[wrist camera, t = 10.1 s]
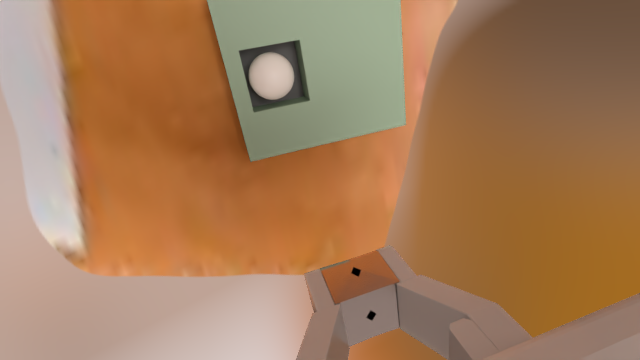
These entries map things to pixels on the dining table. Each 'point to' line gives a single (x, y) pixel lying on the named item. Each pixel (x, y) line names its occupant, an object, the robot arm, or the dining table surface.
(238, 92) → the putting deck
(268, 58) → the ball
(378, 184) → the dining table surface
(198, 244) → the dining table surface
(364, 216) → the dining table surface
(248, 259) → the dining table surface
